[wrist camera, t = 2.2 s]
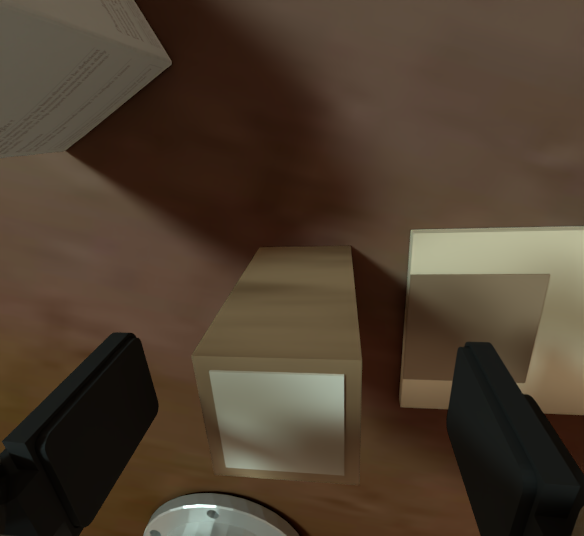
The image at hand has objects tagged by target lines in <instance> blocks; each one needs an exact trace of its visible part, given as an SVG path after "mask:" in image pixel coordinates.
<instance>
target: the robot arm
mask: <svg viewBox="0 0 584 536" xmlns="http://www.w3.org/2000/svg"><path fill="white" fill-rule="evenodd" d="M157 412H158V400H157V396H156V393H155V389H154V386H153V382H152V379H151V375H150V372H149V368H148V365H147V361H146V358H145V354H144V351H143V347H142V344H141V341H140V339H139V338H136V336H135V335H134V334H133V333H112V334H111V335H110V336H109V337H108V338H107V339H106V340H105V341H104V342H103V343H102V344H101V345H100V346H99V347H98V348H97V349H95V350H94V351H93V352H92V353H91V354H90V355H89V356H88V357H87V358H86V359H85V360H84V361H83V362H82V363H81V364H80V365H79V366H78V367H77V368H76V369H75V370H74V371H73V372H72V373H71V374H70V375H69V376H68V377H67V378H66V379H65V380H64V381H63V382H62V383H61V384H60V385H59V386H58V387H57V388H56V389H55V390H54V391H53V392H52V393H51V394H50V395H49V396H48V397H47V398H46V399H45V400H44V401H43V402H42V403H41V404H40V405H39V406H38V407H37V408H36V409H35V410H34V411H32V412H31V413H30V414H29V415H28V416H27V417H26V418H25V419H24V420H23V421H22V422H21V423H20V424H19V425H18V426H17V427H16V428H15V429H14V430H13V431H12V432H11V433H10V434H9V435H8V436H7V437H6V438H5V439H4V440H3V441H2V442H3V444H4V446H5V448H6V449H5V450H4V451H3V452H2V453H1V454H0V536H79V535H80V533H81V531H82V530H83V528H84V527H87V526H88V525H89V524H90V523H91V522H92V521H93V519H94V518H95V516H96V514H97V513H98V511H99V509H100V508H101V506H102V504H103V503H104V501H105V499H106V498H107V496H108V494H109V493H110V491H111V489H112V488H113V486H114V484H115V483H116V481H117V479H118V478H119V476H120V475H121V473H122V471H123V470H124V468H125V466H126V465H127V463H128V461H129V460H130V458H131V456H132V455H133V453H134V451H135V450H136V448H137V446H138V445H139V443H140V441H141V440H142V438H143V436H144V435H145V433H146V431H147V430H148V428H149V426H150V425H151V423H152V422H153V420H154V418H155V417H156V415H157ZM447 431H448V435H449V438H450V441H451V444H452V447H453V450H454V454H455V457H456V460H457V463H458V466H459V469H460V472H461V476H462V479H463V482H464V485H465V488H466V491H467V494H468V497H469V501H470V504H471V507H472V510H473V513H474V516H475V519H476V522H477V526H478V529H479V532H480V535H481V536H584V474H583V473H582V471H581V470H580V468H579V467H578V465H577V464H576V462H575V461H574V459H573V457H572V456H571V454H570V453H569V451H568V450H567V448H566V447H565V445H564V444H563V442H562V441H561V439H560V438H559V436H558V434H557V433H556V431H555V430H554V428H553V427H552V425H551V424H550V422H549V421H548V419H547V418H546V416H545V414H544V413H543V411H542V410H541V408H540V407H539V405H538V404H537V402H536V401H535V400H534V399H533V397H532V396H530V395H528V394H523V393H522V392H521V390H520V389H519V387H518V385H517V384H516V382H515V381H514V379H513V377H512V376H511V374H510V372H509V371H508V369H507V368H506V366H505V364H504V363H503V361H502V360H501V358H500V356H499V355H498V353H497V352H496V350H495V348H494V347H493V345H492V344H491V343H489V342H466V343H465V346H464V347H459V348H458V350H457V356H456V362H455V368H454V375H453V381H452V388H451V394H450V400H449V407H448V413H447ZM143 536H299V534H298V533H297V532H296V530H295V529H294V528H293V527H292V526H291V525H290V524H289V523H288V522H287V521H285V520H284V519H283V518H281V517H280V516H279V515H277V514H276V513H275V512H273V511H271V510H269V509H267V508H265V507H263V506H262V505H259V504H257V503H254V502H252V501H249V500H246V499H243V498H239V497H235V496H231V495H225V494H217V493H196V494H190V495H185V496H181V497H178V498H175V499H173V500H170V501H168V502H166V503H165V504H163V505H162V506H160V507H159V508H158V509H157V510H156V511H155V513H154V514H153V515H152V517H151V519H150V521H149V523H148V525H147V527H146V529H145V532H144V535H143Z"/></svg>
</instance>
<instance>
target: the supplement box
mask: <svg viewBox="0 0 584 536" xmlns="http://www.w3.org/2000/svg"><path fill="white" fill-rule="evenodd" d="M171 64H172V61H171V59H170V58H169V56H168V54H167V53H166V51H165V49H164V48H163V46H162V45H161V43H160V41H159V40H158V38H157V36H156V35H155V33H154V31H153V30H152V28H151V27H150V25H149V23H148V22H147V20H146V19H145V17H144V15H143V14H142V12H141V11H140V9H139V7H138V6H137V4H136V2H135V1H134V0H0V158H4V157H13V156H25V155H34V154H43V153H52V152H63V151H65V150H67V149H68V148H69V147H70V146H72V145H73V144H74V143H76V142H77V141H78V140H80V139H81V138H82V137H83V136H85V135H86V134H87V133H88V132H90V131H91V130H92V129H93V128H94V127H96V126H97V125H98V124H99V123H101V122H102V121H103V120H104V119H105V118H107V117H108V116H109V115H110V114H112V113H113V112H114V111H115V110H116V109H118V108H119V107H120V106H121V105H123V104H124V103H125V102H126V101H127V100H129V99H130V98H131V97H132V96H134V95H135V94H136V93H137V92H138V91H140V90H141V89H142V88H143V87H145V86H146V85H147V84H148V83H149V82H151V81H152V80H153V79H154V78H155V77H157V76H158V75H159V74H160V73H162V72H163V71H164V70H165V69H167V68H168V67H169V66H170V65H171Z"/></svg>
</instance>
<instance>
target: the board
mask: <svg viewBox="0 0 584 536" xmlns="http://www.w3.org/2000/svg"><path fill="white" fill-rule="evenodd" d="M466 342H489V343H491V344H492V345H493V347H494V348H495V350H496V352H497V353H498V355H499V356H500V358H501V360H502V361H503V363H504V364H505V366H506V368H507V369H508V371H509V372H510V374H511V376H512V377H513V379H514V381H515V382H516V384H517V385H518V387H519V389H520V390H521V392H522V393H523V394H528V395H530V396H532V397H533V399H534V400H535V401H536V402H537V404H538V405H539V407H540V408H541V410H542V411H543V413H546V414H569V415H584V226H565V227H517V228H470V229H422V230H411V234H410V248H409V263H408V277H407V291H406V305H405V320H404V334H403V348H402V362H401V377H400V391H399V402H400V407H407V408H430V409H448V407H449V400H450V394H451V388H452V381H453V375H454V368H455V362H456V356H457V350H458V348H459V347H464V346H465V343H466Z"/></svg>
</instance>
